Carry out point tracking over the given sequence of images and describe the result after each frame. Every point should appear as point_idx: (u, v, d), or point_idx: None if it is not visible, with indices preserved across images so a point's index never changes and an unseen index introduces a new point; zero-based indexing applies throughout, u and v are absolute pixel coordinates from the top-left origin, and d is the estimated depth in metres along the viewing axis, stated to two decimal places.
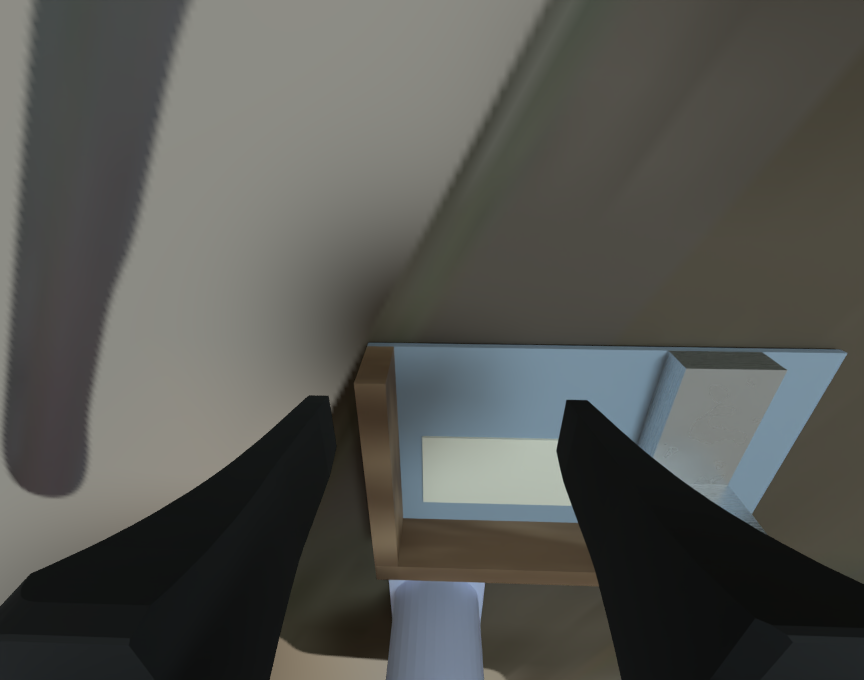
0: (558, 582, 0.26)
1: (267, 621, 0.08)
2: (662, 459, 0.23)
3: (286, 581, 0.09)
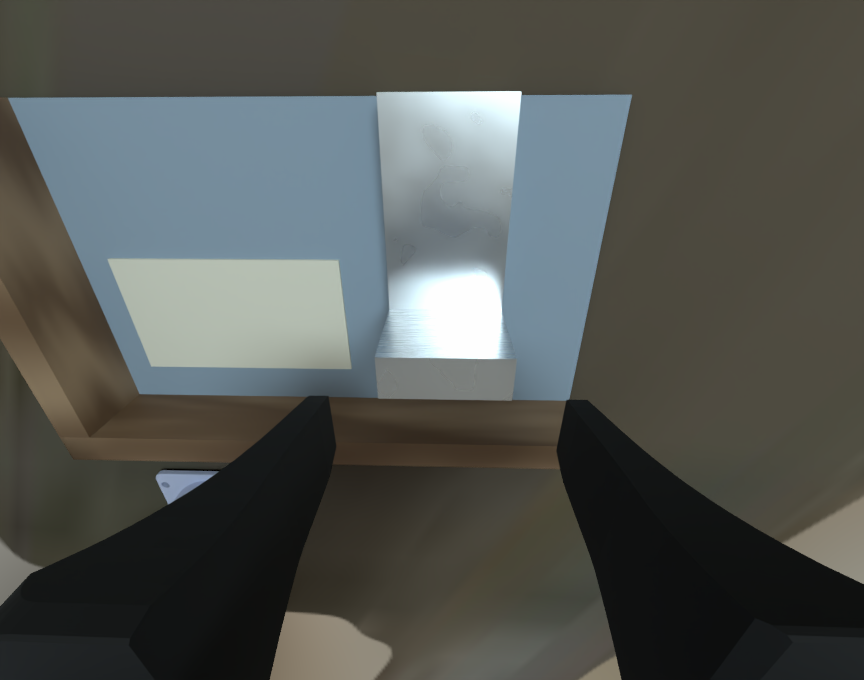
0: None
1: (267, 621, 0.08)
2: (400, 267, 0.16)
3: (286, 581, 0.09)
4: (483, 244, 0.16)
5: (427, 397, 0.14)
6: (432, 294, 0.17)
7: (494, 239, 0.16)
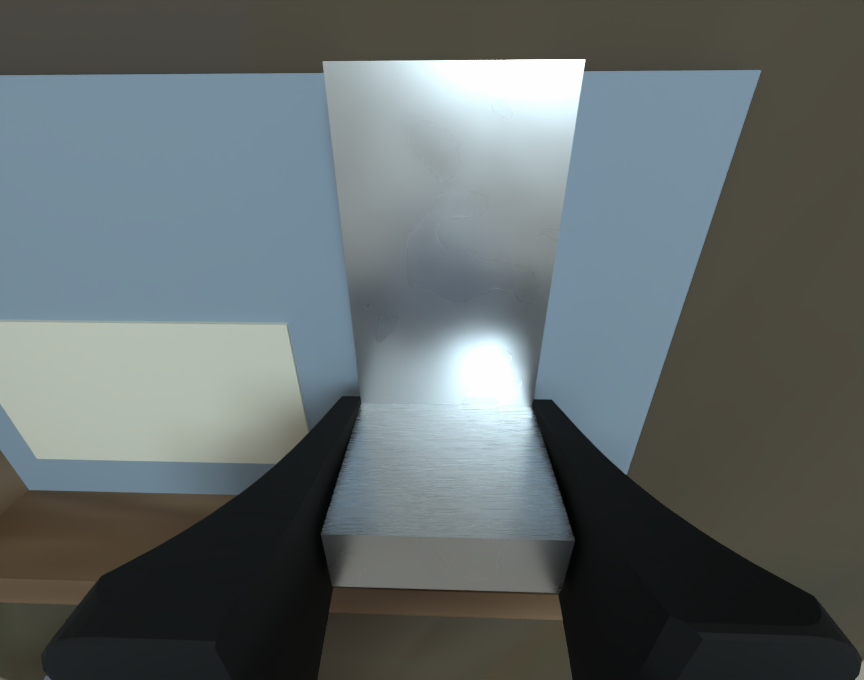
0: None
1: (315, 623, 0.08)
2: (375, 346, 0.10)
3: (329, 582, 0.09)
4: (507, 313, 0.10)
5: (415, 586, 0.08)
6: (426, 384, 0.11)
7: (525, 306, 0.10)
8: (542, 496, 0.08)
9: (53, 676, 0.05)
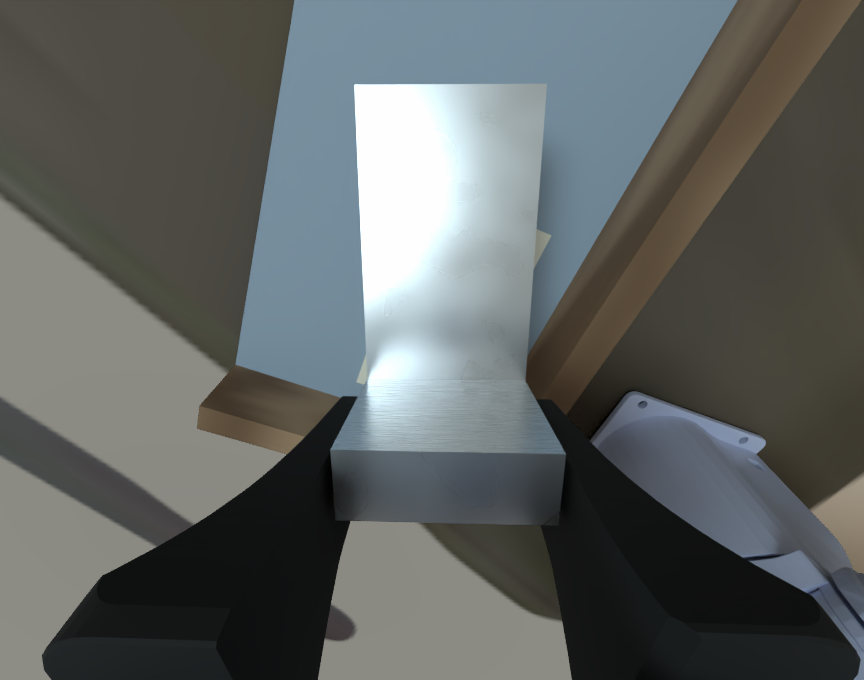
0: (618, 330, 0.16)
1: (316, 623, 0.08)
2: (383, 319, 0.12)
3: (329, 582, 0.09)
4: (498, 287, 0.11)
5: (417, 519, 0.09)
6: (427, 358, 0.12)
7: (513, 280, 0.11)
8: (535, 429, 0.09)
9: (54, 676, 0.05)
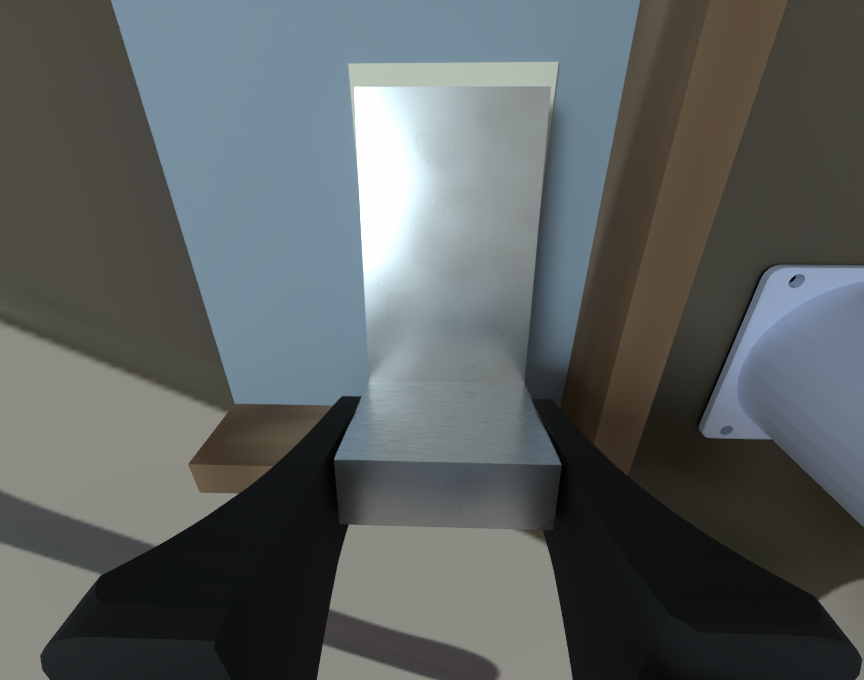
0: (727, 141, 0.09)
1: (314, 623, 0.08)
2: (384, 323, 0.12)
3: (328, 582, 0.09)
4: (499, 292, 0.12)
5: (417, 523, 0.09)
6: (428, 360, 0.12)
7: (514, 285, 0.11)
8: (532, 438, 0.09)
9: (52, 676, 0.05)
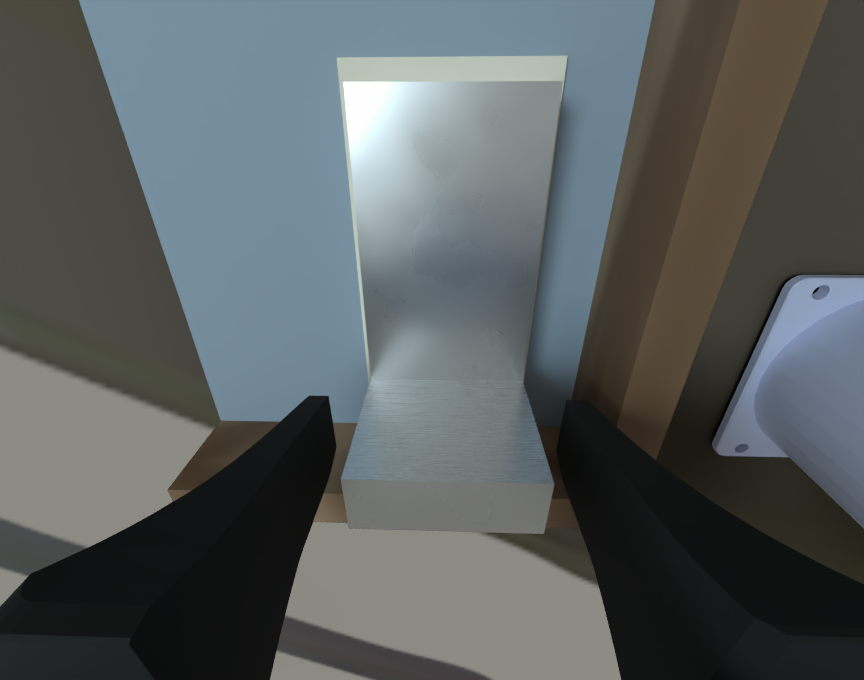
0: (760, 143, 0.08)
1: (267, 621, 0.08)
2: (384, 327, 0.12)
3: (286, 581, 0.09)
4: (500, 297, 0.11)
5: (420, 528, 0.10)
6: (428, 361, 0.12)
7: (515, 291, 0.11)
8: (528, 451, 0.10)
9: None
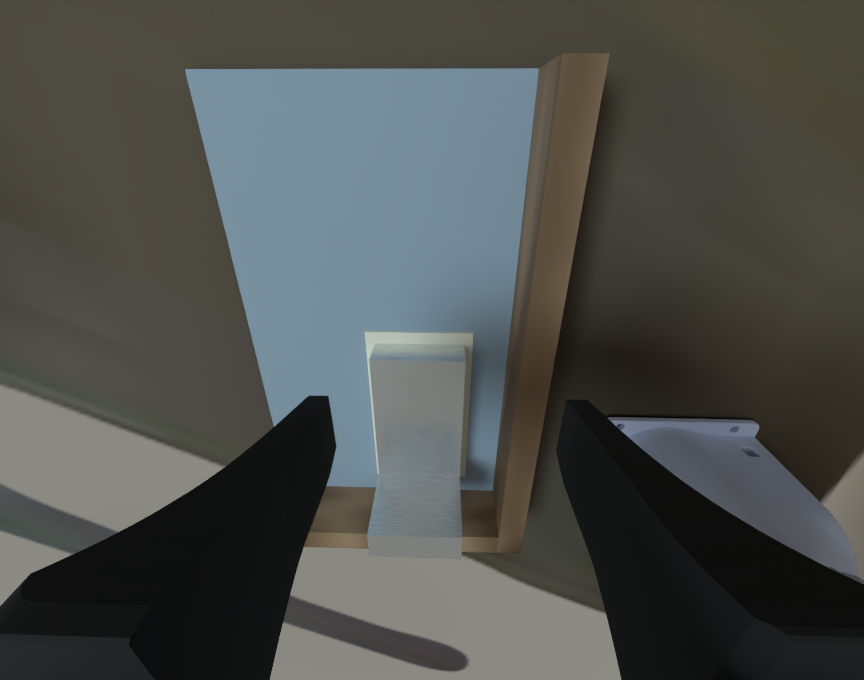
0: (541, 401, 0.19)
1: (267, 621, 0.08)
2: (386, 450, 0.23)
3: (286, 581, 0.09)
4: (444, 438, 0.23)
5: (403, 556, 0.21)
6: (409, 465, 0.24)
7: (452, 436, 0.23)
8: (454, 520, 0.21)
9: None
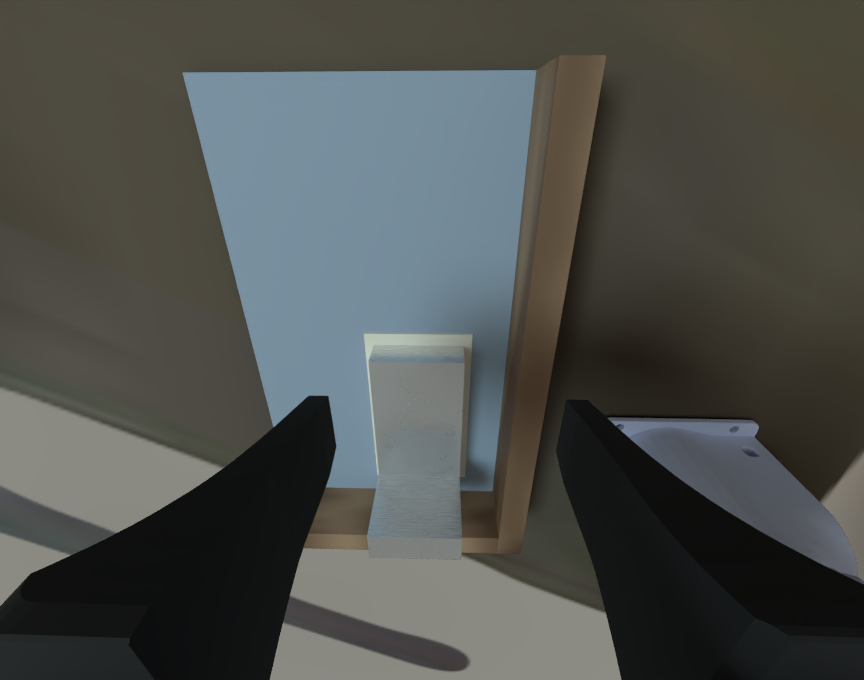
0: (540, 402, 0.19)
1: (267, 621, 0.08)
2: (386, 451, 0.23)
3: (286, 581, 0.09)
4: (444, 439, 0.23)
5: (403, 557, 0.21)
6: (409, 466, 0.24)
7: (451, 437, 0.23)
8: (453, 521, 0.21)
9: None
